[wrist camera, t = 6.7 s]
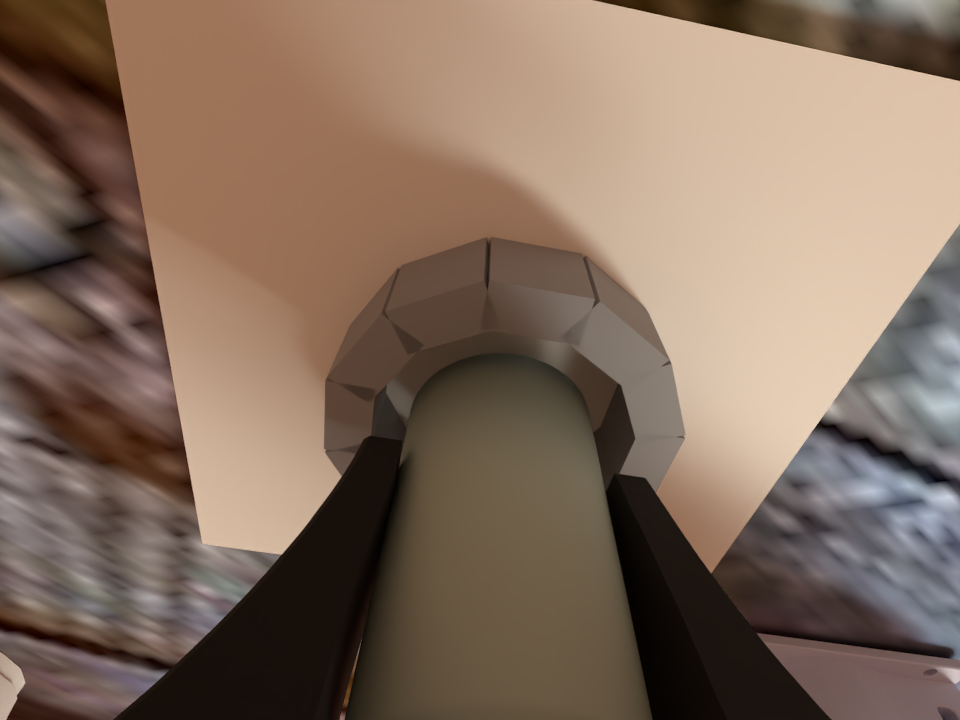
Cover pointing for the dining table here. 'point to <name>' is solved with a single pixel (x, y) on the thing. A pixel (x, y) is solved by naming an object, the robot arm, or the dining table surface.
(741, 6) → the dining table surface
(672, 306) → the socket plate
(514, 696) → the grey rounded piece
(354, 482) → the robot arm
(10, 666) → the foam cup
